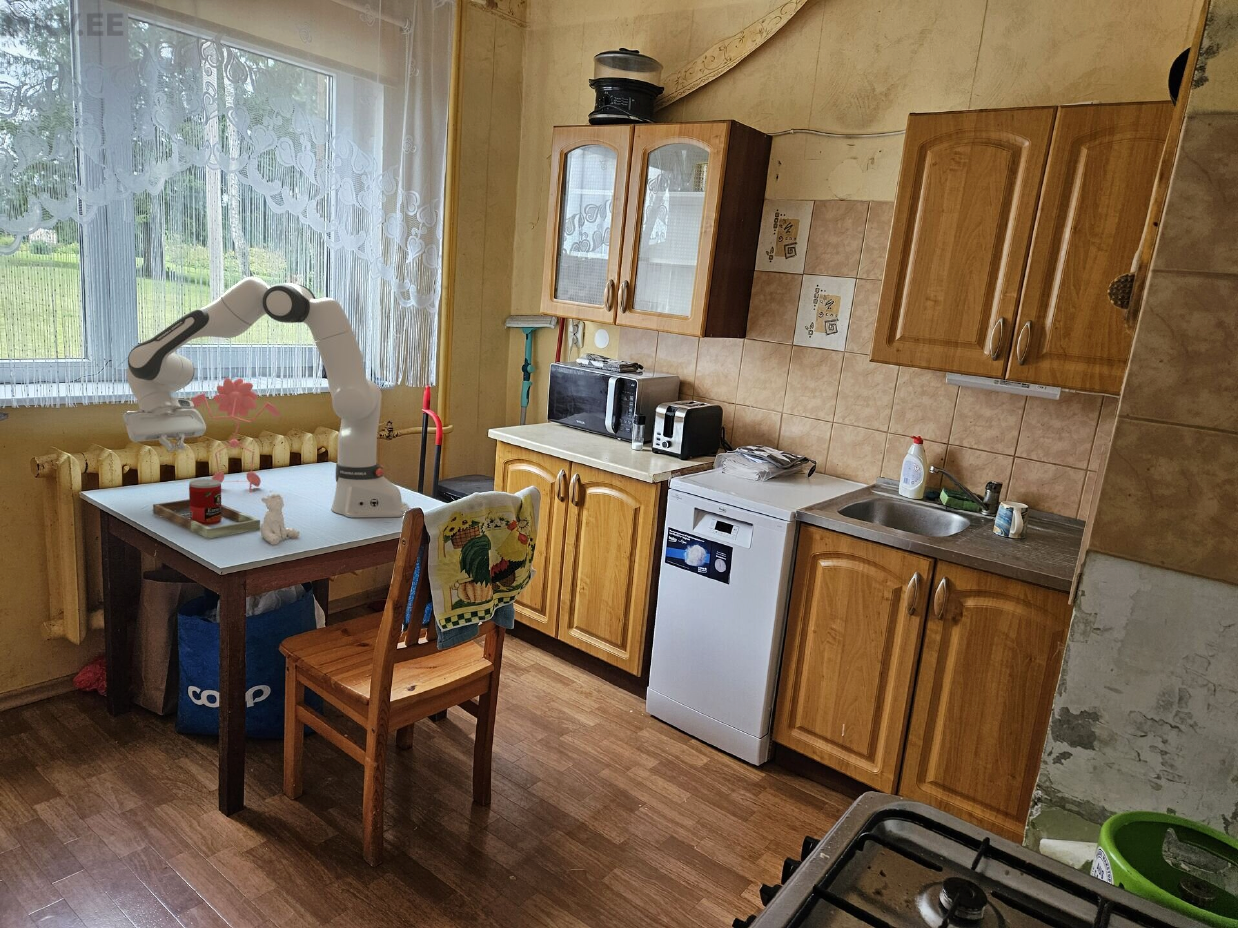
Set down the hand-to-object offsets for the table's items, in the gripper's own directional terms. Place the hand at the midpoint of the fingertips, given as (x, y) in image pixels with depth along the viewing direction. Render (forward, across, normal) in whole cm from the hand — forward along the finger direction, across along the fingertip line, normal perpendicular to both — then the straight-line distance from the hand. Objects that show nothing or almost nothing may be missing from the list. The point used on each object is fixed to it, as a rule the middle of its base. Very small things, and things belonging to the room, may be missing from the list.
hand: (176, 449), depth 229 cm
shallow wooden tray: (+23, 0, +1) cm, 23 cm away
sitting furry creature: (+41, +6, -16) cm, 44 cm away
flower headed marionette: (+3, +25, +22) cm, 34 cm away
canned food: (+23, 0, +2) cm, 23 cm away
